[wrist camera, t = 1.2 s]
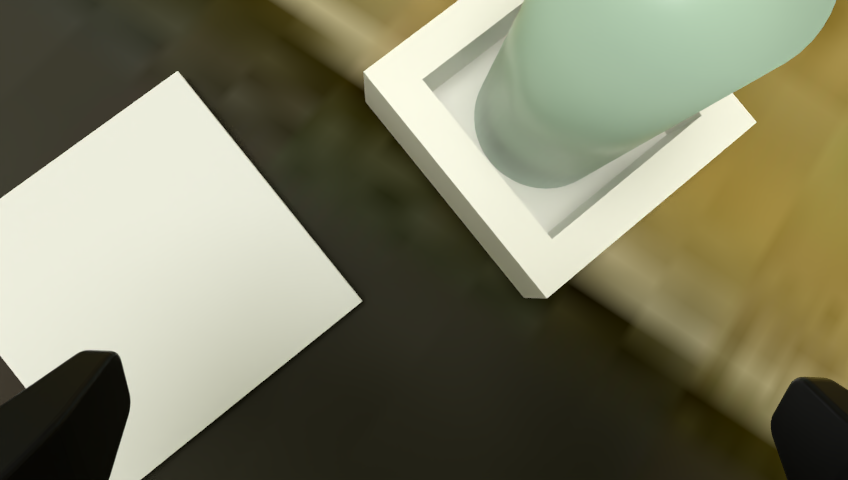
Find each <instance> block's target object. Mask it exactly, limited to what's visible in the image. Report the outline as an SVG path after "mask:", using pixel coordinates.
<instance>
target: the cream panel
mask: <svg viewBox="0 0 848 480" xmlns="http://www.w3.org/2000/svg"><path fill="white" fill-rule="evenodd" d="M361 302H362V300H361V298H360V297H359V296H358V295H357V293H356V292H355V291H354V290H353V288H352V287H351V286H350V285H349V283H348V282H347V281H346V280H345V278H344V277H343V276H342V275H341V273H340V272H339V271H338V270H337V268H336V267H335V266H334V265H333V263H332V262H331V261H330V260H329V258H328V257H327V256H326V255H325V253H324V252H323V251H322V250H321V248H320V247H319V246H318V245H317V243H316V242H315V241H314V240H313V238H312V237H311V236H310V235H309V233H308V232H307V231H306V230H305V228H304V227H303V226H302V225H301V223H300V222H299V221H298V220H297V218H296V217H295V216H294V215H293V213H292V212H291V211H290V210H289V208H288V207H287V206H286V205H285V203H284V202H283V201H282V200H281V198H280V197H279V196H278V195H277V193H276V192H275V191H274V190H273V188H272V187H271V186H270V185H269V183H268V182H267V181H266V180H265V178H264V177H263V176H262V175H261V173H260V172H259V171H258V170H257V168H256V167H255V166H254V165H253V163H252V162H251V161H250V160H249V158H248V157H247V156H246V155H245V153H244V152H243V151H242V150H241V148H240V147H239V146H238V145H237V143H236V142H235V141H234V140H233V138H232V137H231V136H230V135H229V133H228V132H227V131H226V130H225V129H224V127H223V126H222V125H221V124H220V122H219V121H218V120H217V119H216V117H215V116H214V115H213V114H212V112H211V111H210V110H209V109H208V107H207V106H206V105H205V104H204V102H203V101H202V100H201V99H200V97H199V96H198V95H197V94H196V92H195V91H194V90H193V89H192V87H191V86H190V85H189V84H188V82H187V81H186V80H185V79H184V78H183V76H182V75H181V74H180V73H179V72H178V71H177V72H175V73H174V74H173V75H171V76H170V77H169V78H167V79H166V80H164V81H163V82H162V83H160V84H159V85H157V86H156V87H155V88H153V89H152V90H150V91H149V92H148V93H146V94H145V95H144V96H142V97H141V98H139V99H138V100H137V101H135V102H134V103H132V104H131V105H130V106H128V107H127V108H125V109H124V110H123V111H121V112H120V113H119V114H117V115H116V116H114V117H113V118H112V119H110V120H109V121H107V122H106V123H105V124H103V125H102V126H101V127H99V128H98V129H96V130H95V131H94V132H92V133H91V134H89V135H88V136H87V137H85V138H84V139H82V140H81V141H80V142H78V143H77V144H76V145H74V146H73V147H71V148H70V149H69V150H67V151H66V152H64V153H63V154H62V155H60V156H59V157H57V158H56V159H55V160H53V161H52V162H51V163H49V164H48V165H46V166H45V167H44V168H42V169H41V170H39V171H38V172H37V173H35V174H34V175H32V176H31V177H30V178H28V179H27V180H26V181H24V182H23V183H21V184H20V185H19V186H17V187H16V188H14V189H13V190H12V191H10V192H9V193H8V194H6V195H5V196H3V197H2V198H1V199H0V356H1V357H2V358H3V360H4V361H5V362H6V363H7V365H8V366H9V367H10V369H11V370H12V371H13V372H14V374H15V375H16V376H17V377H18V379H19V380H20V381H21V383H22V384H23V385H24V386H25V388H27V387H29V386H30V385H32V384H33V383H35V382H36V381H38V380H39V379H40V378H42V377H43V376H45V375H46V374H48V373H49V372H51V371H52V370H54V369H55V368H56V367H58V366H59V365H61V364H62V363H64V362H65V361H67V360H68V359H70V358H71V357H72V356H74V355H75V354H77V353H79V352H81V351H83V350H106V351H114V352H116V353H118V355H119V356H120V358H121V361H122V365H123V369H124V373H125V377H126V381H127V385H128V389H129V393H130V401H131V403H130V411H129V416H128V419H127V422H126V426H125V429H124V432H123V436H122V439H121V442H120V445H119V449H118V452H117V455H116V459H115V462H114V465H113V468H112V472H111V475H110V478H109V480H141V479H142V478H143V477H145V476H146V475H147V474H148V473H150V472H151V471H152V470H153V469H155V468H156V467H157V466H158V465H160V464H161V463H162V462H163V461H164V460H166V459H167V458H168V457H169V456H171V455H172V454H173V453H174V452H176V451H177V450H178V449H179V448H181V447H182V446H183V445H184V444H186V443H187V442H188V441H189V440H191V439H192V438H193V437H194V436H196V435H197V434H198V433H199V432H201V431H202V430H203V429H204V428H205V427H207V426H208V425H209V424H210V423H212V422H213V421H214V420H215V419H217V418H218V417H219V416H220V415H222V414H223V413H224V412H225V411H227V410H228V409H229V408H230V407H232V406H233V405H234V404H235V403H237V402H238V401H239V400H240V399H242V398H243V397H244V396H245V395H247V394H248V393H249V392H250V391H251V390H253V389H254V388H255V387H256V386H258V385H259V384H260V383H261V382H263V381H264V380H265V379H266V378H268V377H269V376H270V375H271V374H273V373H274V372H275V371H276V370H278V369H279V368H280V367H281V366H283V365H284V364H285V363H286V362H288V361H289V360H290V359H291V358H292V357H294V356H295V355H296V354H297V353H299V352H300V351H301V350H302V349H304V348H305V347H306V346H307V345H309V344H310V343H311V342H312V341H314V340H315V339H316V338H317V337H319V336H320V335H321V334H322V333H324V332H325V331H326V330H327V329H329V328H330V327H331V326H332V325H334V324H335V323H336V322H337V321H338V320H340V319H341V318H342V317H343V316H345V315H346V314H347V313H348V312H350V311H351V310H352V309H353V308H355V307H356V306H357V305H358V304H360V303H361Z"/></svg>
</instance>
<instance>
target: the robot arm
mask: <svg viewBox="0 0 848 480" xmlns="http://www.w3.org/2000/svg"><path fill="white" fill-rule="evenodd" d="M130 403H131V401H130V393H129V389H128V385H127V381H126V377H125V373H124V369H123V365H122V361H121V358H120V356H119V355H118V353H116V352H114V351H106V350H83V351H81V352H79V353H77V354H75V355H74V356H72V357H71V358H70V359H68V360H67V361H65V362H64V363H62V364H61V365H59V366H58V367H56V368H55V369H54V370H52V371H51V372H49V373H48V374H46V375H45V376H43V377H42V378H40V379H39V380H38V381H36V382H35V383H33V384H32V385H30V386H29V387H27V388H26V389H24V390H23V391H22V392H20V393H19V394H17V395H16V396H14V397H13V398H11V399H10V400H8V401H7V402H6V403H4V404H3V405H1V406H0V480H109V478H110V475H111V472H112V468H113V465H114V462H115V459H116V455H117V452H118V449H119V445H120V442H121V439H122V436H123V432H124V429H125V426H126V422H127V419H128V416H129V411H130ZM771 432H772V436H773V439H774V442H775V445H776V448H777V451H778V454H779V456H780V459H781V462H782V465H783V468H784V471H785V474H786V477H787V479H788V480H848V390H847V389H845V388H844V387H842V386H841V385H839V384H837V383H836V382H834V381H832V380H830V379H827V378H817V377H799V378H796V379H795V380H794V381H792V382H791V384H790V385H789V387H788V389H787V391H786V393H785V394H784V396H783V398H782V400H781V402H780V403H779V405H778V407H777V409H776V410H775V412H774V414H773V416H772V420H771Z"/></svg>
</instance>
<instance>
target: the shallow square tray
mask: <svg viewBox="0 0 848 480" xmlns="http://www.w3.org/2000/svg"><path fill="white" fill-rule="evenodd" d="M523 2H524V0H458V1H457V2H456V3H454V4H453V5H452V6H450V7H449V8H448V9H446V10H445V11H444V12H442V13H441V14H440V15H438V16H437V17H436V18H434V19H433V20H432V21H430V22H429V23H428V24H426V25H425V26H424V27H422V28H421V29H420V30H418V31H417V32H416V33H414V34H413V35H412V36H410V37H409V38H408V39H406V40H405V41H404V42H402V43H401V44H400V45H398V46H397V47H396V48H394V49H393V50H392V51H390V52H389V53H388V54H386V55H385V56H384V57H382V58H381V59H380V60H378V61H377V62H376V63H374V64H373V65H372V66H370V67H369V68H368V69H366V70H365V71H364V72H363V73H364V87H365V102H366V103H367V104H368V106H369V107H370V108H371V109H372V111H373V112H374V113H375V114H376V115H377V117H378V118H379V119H380V120H381V122H382V123H383V124H384V125H385V127H386V128H387V129H388V130H389V132H390V133H391V134H392V135H393V136H394V138H395V139H396V140H397V141H398V143H399V144H400V145H401V146H402V148H403V149H404V150H405V151H406V153H407V154H408V155H409V156H410V158H411V159H412V160H413V161H414V162H415V164H416V165H417V166H418V167H419V169H420V170H421V171H422V172H423V174H424V175H425V176H426V177H427V179H428V180H429V181H430V182H431V184H432V185H433V186H434V187H435V188H436V190H437V191H438V192H439V193H440V195H441V196H442V197H443V198H444V200H445V201H446V202H447V203H448V205H449V206H450V207H451V208H452V209H453V211H454V212H455V213H456V214H457V216H458V217H459V218H460V219H461V221H462V222H463V223H464V224H465V226H466V227H467V228H468V229H469V231H470V232H471V233H472V234H473V235H474V237H475V238H476V239H477V240H478V242H479V243H480V244H481V245H482V247H483V248H484V249H485V250H486V252H487V253H488V254H489V255H490V257H491V258H492V259H493V260H494V261H495V263H496V264H497V265H498V266H499V268H500V269H501V270H502V271H503V273H504V274H505V275H506V276H507V278H508V279H509V280H510V281H511V282H512V284H513V285H514V286H515V287H516V289H517V290H518V291H519V292H520V294H521V295H522V296H523V297H524V298H548V297H549V296H550V295H552V294H553V293H554V292H555V291H556V290H558V289H559V288H560V287H561V286H562V285H563V284H565V283H566V282H567V281H568V280H569V279H571V278H572V277H573V276H574V275H575V274H577V273H578V272H579V271H580V270H581V269H583V268H584V267H585V266H586V265H587V264H589V263H590V262H591V261H592V260H593V259H594V258H596V257H597V256H598V255H599V254H600V253H602V252H603V251H604V250H605V249H606V248H608V247H609V246H610V245H611V244H612V243H614V242H615V241H616V240H617V239H618V238H619V237H621V236H622V235H623V234H624V233H625V232H627V231H628V230H629V229H630V228H631V227H633V226H634V225H635V224H636V223H637V222H639V221H640V220H641V219H642V218H643V217H644V216H646V215H647V214H648V213H649V212H650V211H652V210H653V209H654V208H655V207H656V206H658V205H659V204H660V203H661V202H662V201H664V200H665V199H666V198H667V197H668V196H669V195H671V194H672V193H673V192H674V191H675V190H677V189H678V188H679V187H680V186H681V185H683V184H684V183H685V182H686V181H687V180H689V179H690V178H691V177H692V176H693V175H694V174H696V173H697V172H698V171H699V170H700V169H702V168H703V167H704V166H705V165H706V164H708V163H709V162H710V161H711V160H712V159H714V158H715V157H716V156H717V155H718V154H719V153H721V152H722V151H723V150H724V149H725V148H727V147H728V146H729V145H730V144H731V143H733V142H734V141H735V140H736V139H737V138H739V137H740V136H741V135H742V134H743V133H744V132H746V131H747V130H748V129H749V128H750V127H752V126H753V125H754V124H755V123H756V121H755V120H754V119H753V117H752V116H751V115H750V114H749V113H748V111H747V110H746V109H745V108H744V106H743V105H742V104H741V103H740V102H739V100H738V99H737V98H736V97H735V96H734V94H733V93H731V94H730V95H728V96H726V97H724V98H723V99H721V100H719V101H717V102H716V103H714V104H712V105H710V106H709V107H707V108H705V109H703V110H701V111H700V112H698V113H696V114H694V115H693V116H691V117H689V118H687V119H686V120H684V121H682V122H680V123H679V124H677V125H675V126H673V127H671V128H670V129H668V130H666V131H664V132H663V133H661V134H659V135H657V136H656V137H654V138H652V139H650V140H649V141H647V142H645V143H643V144H642V145H640V146H638V147H636V148H634V149H633V150H631V151H629V152H627V153H626V154H624V155H622V156H620V157H619V158H617V159H615V160H613V161H612V162H610V163H608V164H606V165H605V166H603V167H601V168H599V169H597V170H596V171H594V172H592V173H590V174H589V175H587V176H585V177H583V178H582V179H580V180H578V181H576V182H574V183H572V184H569V185H566V186H562V187H558V188H548V189H545V188H534V187H529V186H526V185H523V184H520V183H518V182H515V181H513V180H511V179H510V178H508V177H507V176H505V175H504V174H502V173H501V172H500V171H499V170H498V169H496V168H495V166H494V165H493V164H492V163H491V162H490V161H489V159H488V158H487V157H486V155H485V154H484V152H483V150H482V148H481V146H480V144H479V141H478V138H477V135H476V130H475V123H474V110H475V104H476V100H477V96H478V93H479V91H480V89H481V87H482V84H483V82H484V80H485V78H486V76H487V74H488V72H489V70H490V68H491V66H492V64H493V62H494V60H495V58H496V56H497V54H498V52H499V50H500V48H501V46H502V44H503V42H504V40H505V38H506V36H507V34H508V32H509V30H510V28H511V26H512V24H513V22H514V20H515V18H516V16H517V14H518V12H519V10H520V8H521V6H522V4H523Z"/></svg>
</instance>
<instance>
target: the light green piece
mask: <svg viewBox="0 0 848 480" xmlns="http://www.w3.org/2000/svg"><path fill="white" fill-rule="evenodd" d="M835 2H836V0H524V2H523V4H522V6H521V8H520V10H519V12H518V14H517V16H516V18H515V20H514V22H513V24H512V26H511V28H510V30H509V32H508V34H507V36H506V38H505V40H504V42H503V44H502V46H501V48H500V50H499V52H498V54H497V56H496V58H495V60H494V62H493V64H492V66H491V68H490V70H489V72H488V74H487V76H486V78H485V80H484V82H483V84H482V87H481V89H480V91H479V93H478V96H477V100H476V104H475V110H474V123H475V130H476V135H477V138H478V141H479V144H480V146H481V148H482V150H483V152H484V154H485V155H486V157H487V158H488V159H489V161H490V162H491V163H492V164H493V165H494V166H495V168H496V169H498V170H499V171H500V172H501V173H502V174H504V175H505V176H507V177H508V178H510V179H511V180H513V181H515V182H518V183H520V184H523V185H526V186H529V187H534V188H545V189H548V188H558V187H562V186H566V185H569V184H572V183H574V182H576V181H578V180H580V179H582V178H583V177H585V176H587V175H589V174H590V173H592V172H594V171H596V170H597V169H599V168H601V167H603V166H605V165H606V164H608V163H610V162H612V161H613V160H615V159H617V158H619V157H620V156H622V155H624V154H626V153H627V152H629V151H631V150H633V149H634V148H636V147H638V146H640V145H642V144H643V143H645V142H647V141H649V140H650V139H652V138H654V137H656V136H657V135H659V134H661V133H663V132H664V131H666V130H668V129H670V128H671V127H673V126H675V125H677V124H679V123H680V122H682V121H684V120H686V119H687V118H689V117H691V116H693V115H694V114H696V113H698V112H700V111H701V110H703V109H705V108H707V107H709V106H710V105H712V104H714V103H716V102H717V101H719V100H721V99H723V98H724V97H726V96H728V95H730V94H731V93H733V92H735V91H737V90H738V89H740V88H742V87H744V86H746V85H747V84H749V83H751V82H753V81H754V80H756V79H758V78H760V77H761V76H763V75H765V74H767V73H768V72H770V71H772V70H774V69H775V68H777V67H779V66H781V65H783V64H784V63H786V62H787V61H789V60H790V59H792V58H793V57H794V56H796V55H797V54H799V53H800V52H801V51H802V50H803V49H804V48H805V47H806V46H807V45H808V44H809V43H810V42H812V41H813V39H814V38H815V37H816V35H817V34H818V33H819V32H820V30H821V29H822V28H823V26H824V24H825V23H826V21H827V19H828V17H829V16H830V14H831V12H832V9H833V7H834V4H835Z"/></svg>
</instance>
